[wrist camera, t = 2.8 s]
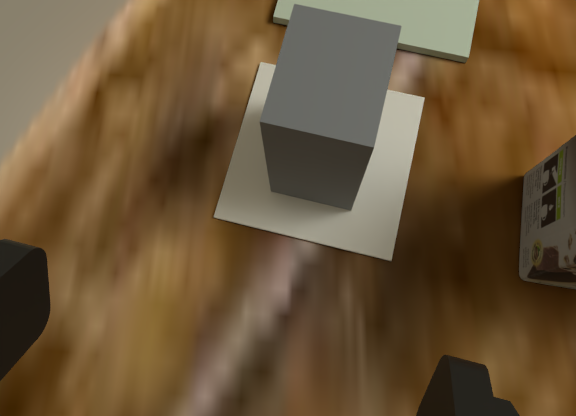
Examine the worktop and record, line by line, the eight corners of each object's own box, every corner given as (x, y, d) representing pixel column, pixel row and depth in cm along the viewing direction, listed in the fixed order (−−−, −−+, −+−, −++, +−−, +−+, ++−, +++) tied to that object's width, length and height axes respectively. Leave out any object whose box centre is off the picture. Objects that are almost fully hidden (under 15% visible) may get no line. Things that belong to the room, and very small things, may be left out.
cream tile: (423, 99, 31) (424, 97, 31) (390, 261, 28) (391, 260, 28) (261, 63, 32) (260, 61, 31) (214, 217, 29) (213, 217, 29)
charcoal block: (371, 120, 30) (401, 26, 22) (351, 210, 29) (374, 147, 20) (295, 103, 31) (294, 3, 22) (270, 191, 29) (259, 121, 20)
